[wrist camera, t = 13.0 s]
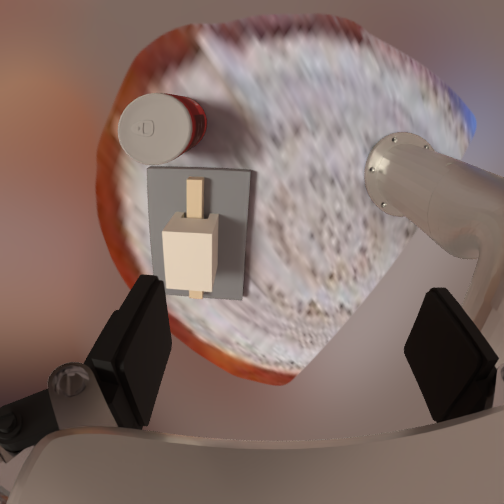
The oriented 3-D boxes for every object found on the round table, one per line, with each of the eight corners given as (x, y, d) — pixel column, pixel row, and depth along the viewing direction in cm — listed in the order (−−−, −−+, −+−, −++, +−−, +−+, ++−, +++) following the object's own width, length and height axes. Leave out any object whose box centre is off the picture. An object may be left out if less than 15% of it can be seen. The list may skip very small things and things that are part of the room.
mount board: (250, 169, 40) (250, 174, 37) (242, 294, 49) (241, 307, 46) (150, 166, 40) (142, 171, 37) (157, 288, 49) (152, 299, 46)
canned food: (145, 105, 36) (110, 105, 26) (202, 89, 35) (183, 83, 25) (157, 157, 39) (126, 174, 29) (213, 144, 39) (198, 156, 29)
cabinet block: (218, 213, 41) (212, 234, 35) (217, 270, 45) (211, 297, 39) (175, 211, 41) (162, 231, 35) (178, 267, 45) (166, 293, 39)
